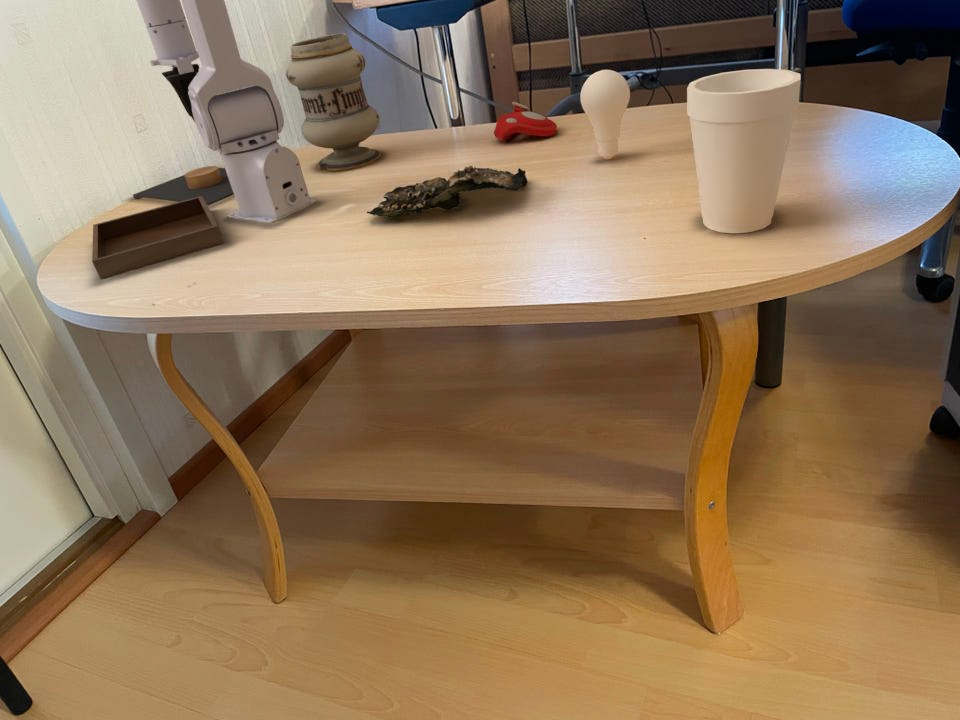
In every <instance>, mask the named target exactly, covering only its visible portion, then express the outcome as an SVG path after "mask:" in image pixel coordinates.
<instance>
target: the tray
mask: <svg viewBox="0 0 960 720" xmlns="http://www.w3.org/2000/svg"><path fill="white" fill-rule="evenodd" d="M220 245H225V241H224V238H223V235H222V233H221V230H220V227H219V225H218V223H217V222H216V219H215V217H214V215H213V213H212V211H211V210H210V208H209V205H207V204H206V202H205V200H204V198H203V197H202V196H199V197H195V198H192V199H188V200H184V201H180V202H177V201H176V202H174V203H170V204H165V205H163V206H162V205H161V206H158V207H155V208H151V209H147V210H143V211H140V212H136V213H135V212H134V213H132V214H127V215H125V216H121V217H117V218H114V219H110V220H106V221H102V222H99V223H95V224H93V225H92V252H91V253H92V255H91V257H92V258H91V259H92V260H91V262H92V264H93V266H94V269H95V271H96V274H97V275H98V277H99V279H100V280H103V279H107V278H111V277H114V276H117V275H121V274H124V273H127V272H132V271H134V270H139V269H142V268H145V267H148V266H152V265H155V264H158V263H162V262H165V261H169V260H172V259H176V258H179V257H182V256H183V257H184V256H186V255H190V254H193V253H197V252H200V251H204V250H206V249H210V248H214V247H218V246H220Z"/></svg>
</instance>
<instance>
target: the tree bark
mask: <svg viewBox="0 0 960 720" xmlns="http://www.w3.org/2000/svg"><path fill="white" fill-rule="evenodd" d="M528 183H529V182H528V178H527V175H526V170H523V169H522V168H520V167H519V168H518V169H517V172H516V173H515V174H514V173H512V172H511V171H508V170H505V171H504V170H498V169H493V168H489V167H487V168H484V167H476V166H474V167H473V165H469V166H465V167H464V168H463V170H459V169H457V171H455V172H453V174H452V175H451V176H450V177H448V179H446V178H445V177H440V176H439V177H435V178H432V179H428V180H427V179H426V180H424V181H422V182H416V183H415V184H410V185H409V184H408V185H405V186H398V187H395V188H394V189H393V190H391V191H387V192H386V193H385V194H384V196H383V199H385V200H383V201H381V202H379V204H378V205H377V206H376V207H374V208H372V210H370V211H369V210H368V211H366V214H369V215H372V216H377V217H382V218H389V219H391V218H392V219H393V218H399V217H403V216H410V215H411V214H412V213H413V214H422V211H425V212H426V211H429V210H435V209H437V208H438V209H441V210H444V211H452V210H453V209H456V208H459V206H460V205H461V202H460V199H461V194H460V193H463V192H475V191H479V190H485V189H486V190H487V189H499V190H505V191H513V192H515V191H518V190H520V188H521V187H522V188H524V187H525V188H526V186H527V185H528Z"/></svg>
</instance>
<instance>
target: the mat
mask: <svg viewBox="0 0 960 720" xmlns="http://www.w3.org/2000/svg"><path fill="white" fill-rule="evenodd" d="M218 168H219V171H220V174H221V177H222V181H221V182H220V183H218V184H216V185H213V186H210V187H206V188H201V189H190V188H189V187H188V184H187V181H186V179H185V176H184V175H185V174H183V175H180V176H178V177H176V178H173V179H170V180H168V181H165V182H162V183H159V184H157V185H154V186H152V187H149V188H146V189H144V190H142V191H139V192H137V193H133V194H132V197H133V199H137V200H141V199H144V198H145V199H152V200H159V201H160V200H161V201H169V202H176V203H177V202H180V201H184V200H188V199H192V198H195V197H199V196H202V197H203V198H204V200H205V202H206V204H207V206H210V205H214V203H218V202H220V201H222V200H225V199H226V198H229V197H231V196H234V193H233V190H232V187H231V184H230V181H229V179H228V176H227V173H226V170H225V167H218Z"/></svg>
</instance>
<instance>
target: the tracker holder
mask: <svg viewBox="0 0 960 720" xmlns="http://www.w3.org/2000/svg"><path fill="white" fill-rule="evenodd" d="M511 104H512V107H513V111H512V112H507V113H505V114H502V115H501V116H499V117H498V119H497V122H496V125H495V128H494V130H493V136H494V137H495V138H497V139H498V140H500V141H501V142H506V141H508V140H509V139H511V138H512V137H513V136H515V135H516V134H519V133H520V134H526V135H531V136H537V137H551V136H554V135H555V134H556V133H557V132H558V131H557V130H558V124H557V123H556V122H555V121H553V120H551V119H550V118H549V117H548V116H546V115H544V114H542V113H540V112H536V111H533V110H532V111H531V110H530V107H529V106H528V105H524V104H521V103H518V102H516V101H512V102H511Z"/></svg>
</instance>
